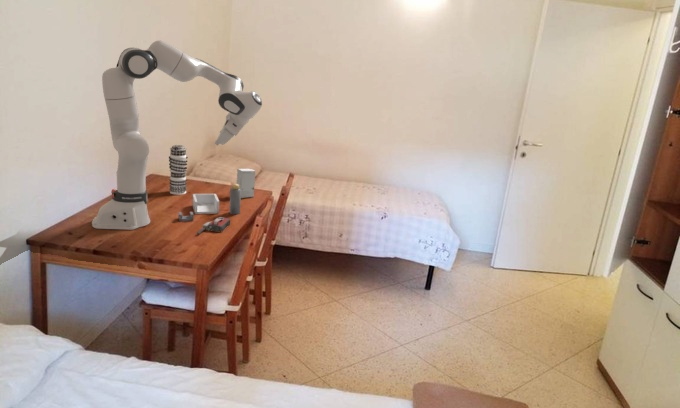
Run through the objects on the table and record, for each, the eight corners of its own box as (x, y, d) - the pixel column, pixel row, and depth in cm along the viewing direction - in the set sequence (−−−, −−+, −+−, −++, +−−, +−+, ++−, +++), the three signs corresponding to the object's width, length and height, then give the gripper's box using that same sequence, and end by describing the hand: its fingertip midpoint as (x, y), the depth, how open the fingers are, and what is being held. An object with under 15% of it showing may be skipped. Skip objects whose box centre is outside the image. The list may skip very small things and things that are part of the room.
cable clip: (179, 221, 210) (179, 214, 210) (178, 218, 214) (178, 211, 213) (193, 220, 213) (193, 214, 212) (192, 217, 216) (192, 211, 215)
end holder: (194, 214, 222) (195, 201, 220) (192, 205, 233) (192, 193, 231) (219, 213, 226) (219, 201, 224) (215, 205, 237) (215, 193, 235)
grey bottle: (230, 214, 226) (231, 186, 222) (228, 211, 230) (229, 183, 226) (240, 214, 228) (242, 186, 224) (239, 211, 232) (240, 183, 228)
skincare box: (240, 198, 253) (241, 171, 248) (235, 195, 257) (236, 168, 253) (254, 197, 258) (255, 170, 253) (249, 194, 262) (250, 167, 258)
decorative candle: (172, 189, 256) (172, 143, 249) (189, 191, 256) (190, 145, 249) (166, 193, 248) (165, 146, 240) (183, 195, 247) (183, 148, 240)
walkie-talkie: (213, 221, 216) (194, 236, 196) (213, 212, 214) (195, 226, 195) (231, 224, 215) (215, 239, 196) (232, 214, 214) (215, 229, 194)
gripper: (235, 104, 222) (219, 122, 229) (225, 126, 206) (207, 145, 213) (246, 113, 224) (229, 131, 231) (236, 136, 209) (218, 154, 215)
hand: (218, 138), depth 222 cm, fingers open, 8 cm apart
